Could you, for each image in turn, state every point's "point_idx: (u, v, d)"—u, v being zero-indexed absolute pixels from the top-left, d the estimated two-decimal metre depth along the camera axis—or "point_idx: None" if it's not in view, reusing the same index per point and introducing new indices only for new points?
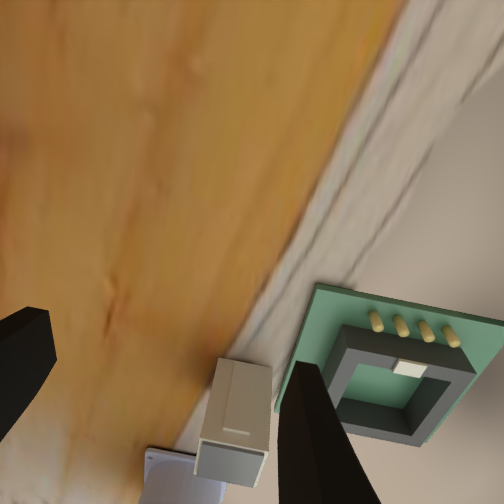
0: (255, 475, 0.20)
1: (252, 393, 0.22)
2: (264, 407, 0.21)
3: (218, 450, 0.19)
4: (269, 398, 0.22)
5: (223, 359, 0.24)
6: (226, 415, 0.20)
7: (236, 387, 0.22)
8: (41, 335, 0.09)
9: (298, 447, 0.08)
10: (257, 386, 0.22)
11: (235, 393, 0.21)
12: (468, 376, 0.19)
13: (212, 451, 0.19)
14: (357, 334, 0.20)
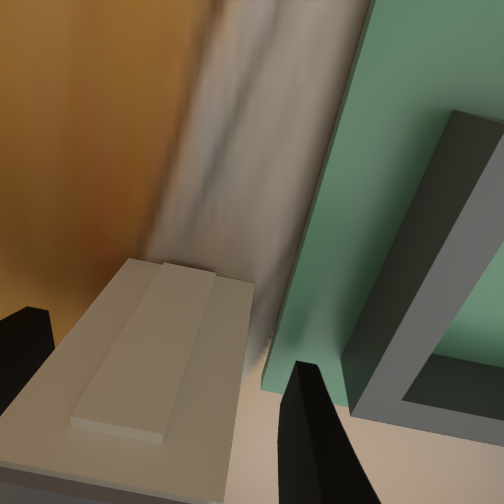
0: None
1: (194, 326, 0.08)
2: (225, 362, 0.08)
3: (41, 498, 0.05)
4: (241, 342, 0.08)
5: (139, 262, 0.10)
6: (96, 379, 0.06)
7: (151, 311, 0.08)
8: (41, 335, 0.09)
9: (298, 447, 0.08)
10: (212, 315, 0.09)
11: (146, 323, 0.08)
12: None
13: (24, 501, 0.05)
14: None
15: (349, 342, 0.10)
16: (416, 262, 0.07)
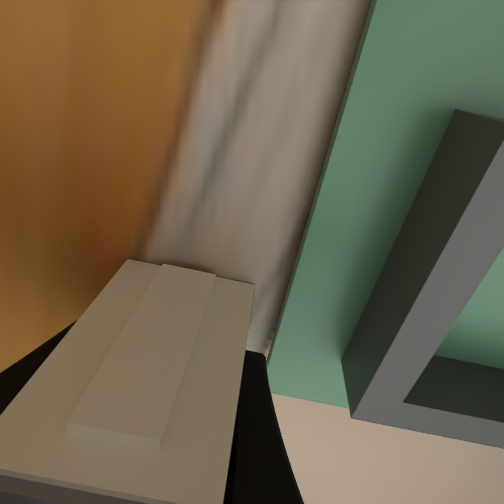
0: None
1: (193, 329, 0.08)
2: (224, 366, 0.07)
3: None
4: (241, 344, 0.08)
5: (137, 263, 0.10)
6: (93, 383, 0.06)
7: (150, 313, 0.08)
8: None
9: None
10: (211, 317, 0.09)
11: (144, 326, 0.08)
12: None
13: None
14: None
15: (350, 343, 0.10)
16: (418, 263, 0.07)
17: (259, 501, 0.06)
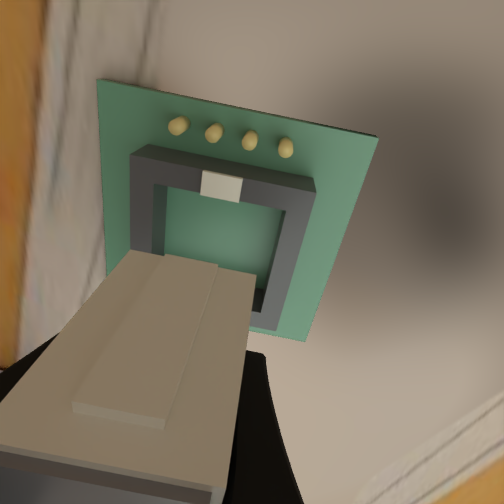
0: None
1: (196, 315, 0.08)
2: (227, 351, 0.07)
3: (42, 483, 0.05)
4: (243, 331, 0.08)
5: (140, 253, 0.10)
6: (98, 365, 0.06)
7: (153, 300, 0.08)
8: None
9: None
10: (213, 306, 0.09)
11: (148, 312, 0.08)
12: (305, 198, 0.13)
13: (25, 486, 0.05)
14: (160, 151, 0.14)
15: None
16: None
17: (259, 501, 0.06)
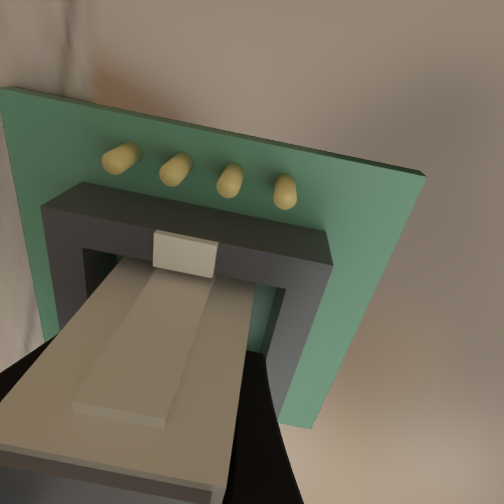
0: None
1: (196, 315, 0.08)
2: (227, 350, 0.07)
3: (43, 482, 0.05)
4: (243, 331, 0.08)
5: None
6: (98, 365, 0.06)
7: (153, 299, 0.08)
8: None
9: None
10: (213, 305, 0.09)
11: (148, 312, 0.08)
12: (316, 272, 0.09)
13: (25, 485, 0.05)
14: (97, 194, 0.10)
15: None
16: None
17: (259, 501, 0.06)
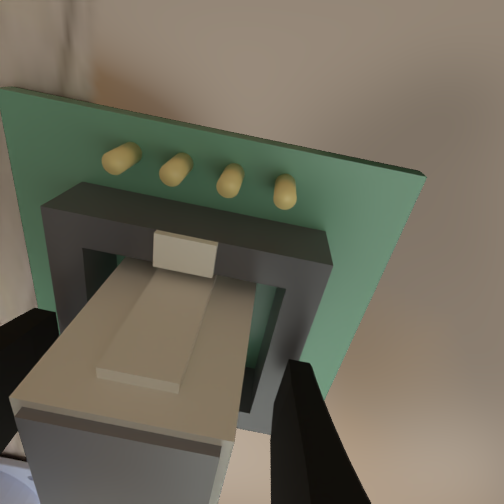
0: None
1: (204, 297, 0.09)
2: (233, 329, 0.08)
3: (72, 437, 0.06)
4: (248, 312, 0.09)
5: None
6: (117, 338, 0.07)
7: (164, 283, 0.09)
8: (49, 336, 0.09)
9: (289, 445, 0.08)
10: (220, 289, 0.09)
11: (160, 293, 0.08)
12: (316, 272, 0.09)
13: (56, 441, 0.06)
14: (98, 194, 0.10)
15: None
16: None
17: None
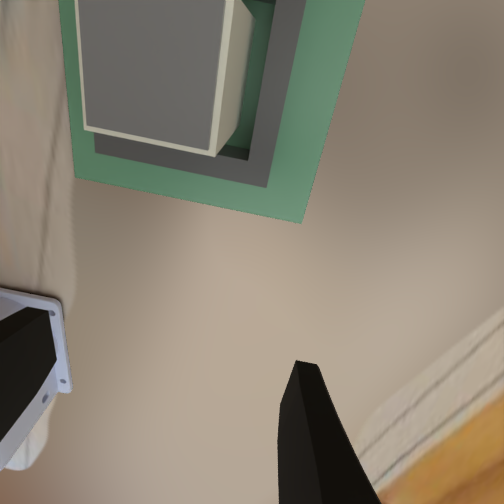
0: (209, 95, 0.09)
1: None
2: None
3: None
4: None
5: None
6: None
7: None
8: (41, 335, 0.09)
9: (298, 447, 0.08)
10: None
11: None
12: None
13: (104, 1, 0.08)
14: None
15: None
16: None
17: None
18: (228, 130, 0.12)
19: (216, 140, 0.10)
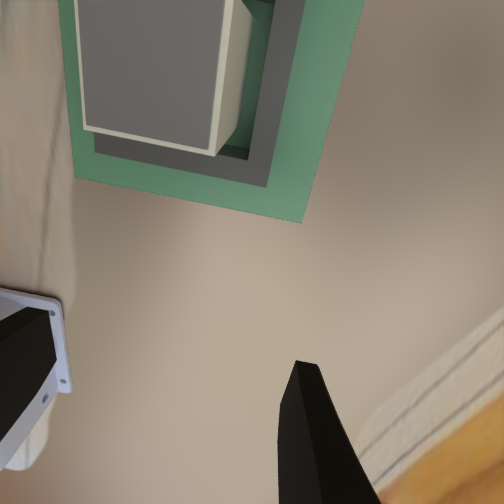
0: (209, 95, 0.09)
1: None
2: None
3: None
4: None
5: None
6: None
7: None
8: (41, 335, 0.09)
9: (298, 447, 0.08)
10: None
11: None
12: None
13: (103, 0, 0.08)
14: None
15: None
16: None
17: None
18: (228, 130, 0.12)
19: (216, 139, 0.10)
